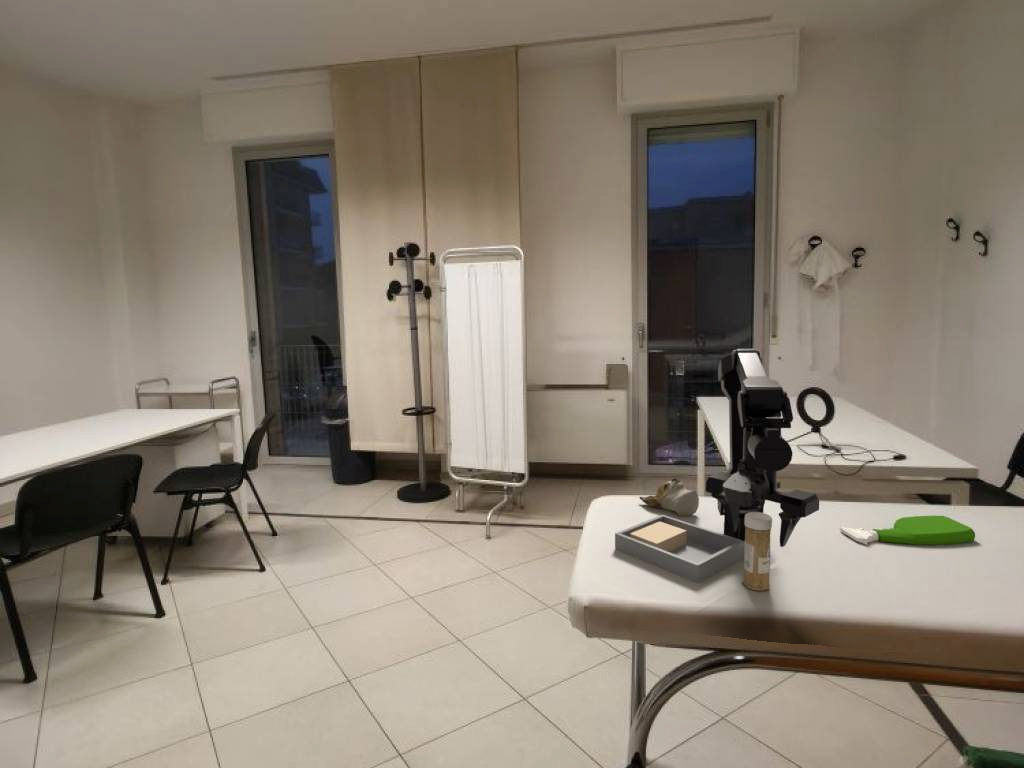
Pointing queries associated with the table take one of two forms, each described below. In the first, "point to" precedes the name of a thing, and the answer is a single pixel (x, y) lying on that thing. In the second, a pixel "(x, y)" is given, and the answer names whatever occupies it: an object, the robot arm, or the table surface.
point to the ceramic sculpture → (674, 498)
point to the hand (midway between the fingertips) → (757, 538)
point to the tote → (685, 550)
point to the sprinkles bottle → (757, 550)
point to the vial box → (661, 536)
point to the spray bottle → (917, 532)
